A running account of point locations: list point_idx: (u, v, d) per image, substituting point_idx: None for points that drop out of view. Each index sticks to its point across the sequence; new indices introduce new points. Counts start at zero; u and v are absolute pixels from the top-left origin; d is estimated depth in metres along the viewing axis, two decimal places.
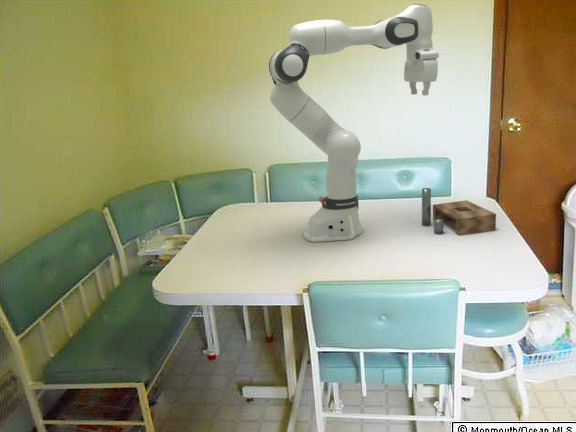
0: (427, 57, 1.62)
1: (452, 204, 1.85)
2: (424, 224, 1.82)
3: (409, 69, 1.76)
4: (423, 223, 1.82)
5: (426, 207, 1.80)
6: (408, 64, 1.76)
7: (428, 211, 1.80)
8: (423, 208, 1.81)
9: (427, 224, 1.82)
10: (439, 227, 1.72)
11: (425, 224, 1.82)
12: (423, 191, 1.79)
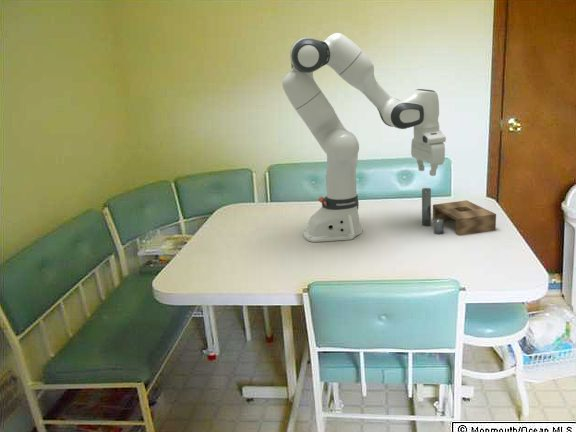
0: (434, 142, 1.66)
1: (452, 204, 1.85)
2: (424, 224, 1.82)
3: (416, 147, 1.80)
4: (423, 223, 1.82)
5: (426, 207, 1.80)
6: (415, 142, 1.79)
7: (428, 211, 1.80)
8: (423, 208, 1.81)
9: (427, 224, 1.82)
10: (439, 227, 1.72)
11: (425, 224, 1.82)
12: (423, 191, 1.79)
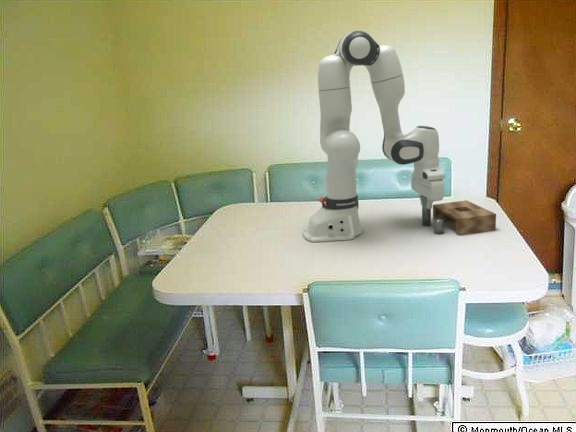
0: (434, 178, 1.69)
1: (452, 204, 1.85)
2: (424, 224, 1.82)
3: (416, 181, 1.84)
4: (423, 223, 1.82)
5: None
6: (415, 176, 1.83)
7: (428, 211, 1.80)
8: (423, 208, 1.81)
9: (427, 224, 1.82)
10: (439, 227, 1.72)
11: (425, 224, 1.82)
12: None
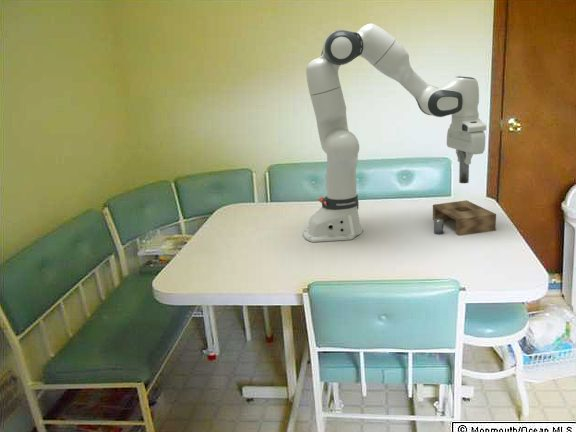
0: (475, 130, 1.62)
1: (452, 204, 1.85)
2: (462, 181, 1.75)
3: (453, 136, 1.76)
4: (461, 180, 1.75)
5: None
6: (452, 131, 1.75)
7: (467, 167, 1.73)
8: (461, 164, 1.73)
9: (465, 181, 1.74)
10: (439, 227, 1.72)
11: (463, 181, 1.74)
12: None
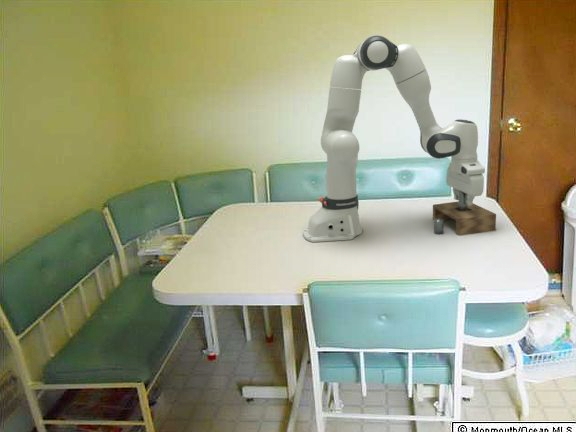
0: (474, 173, 1.66)
1: (452, 204, 1.85)
2: None
3: (452, 176, 1.80)
4: None
5: (463, 206, 1.77)
6: (451, 171, 1.80)
7: None
8: (460, 207, 1.78)
9: None
10: (439, 227, 1.72)
11: None
12: None
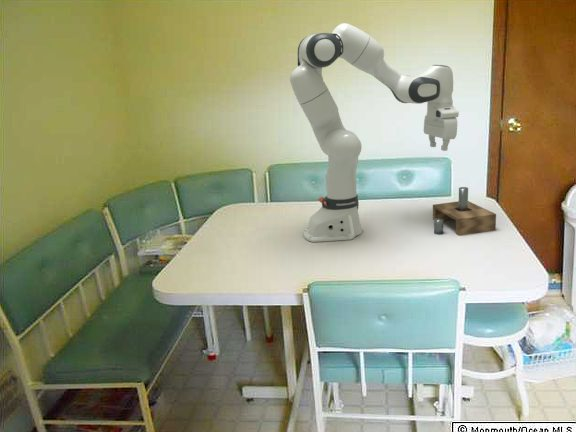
0: (447, 116, 1.70)
1: (452, 204, 1.85)
2: None
3: (429, 123, 1.84)
4: None
5: (463, 207, 1.77)
6: (428, 118, 1.83)
7: None
8: (460, 207, 1.78)
9: None
10: (439, 227, 1.72)
11: None
12: (460, 190, 1.76)
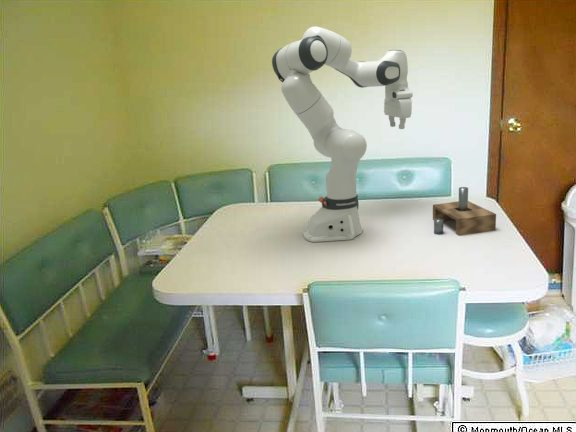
0: (402, 97, 1.85)
1: (452, 204, 1.85)
2: None
3: (388, 104, 1.99)
4: None
5: (463, 207, 1.77)
6: (387, 100, 1.99)
7: None
8: (460, 207, 1.78)
9: None
10: (439, 227, 1.72)
11: None
12: (460, 190, 1.76)
